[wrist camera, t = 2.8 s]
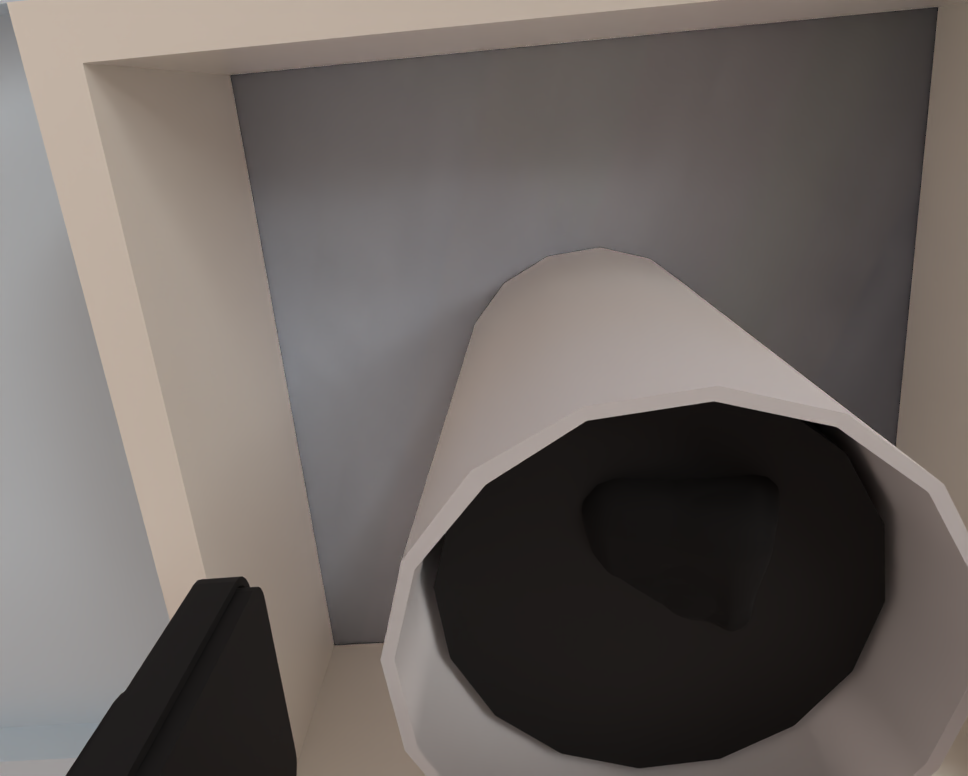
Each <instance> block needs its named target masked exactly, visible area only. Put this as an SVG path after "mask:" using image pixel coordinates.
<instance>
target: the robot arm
mask: <svg viewBox="0 0 968 776" xmlns="http://www.w3.org/2000/svg"><path fill="white" fill-rule="evenodd" d="M296 774H297V756H296V750H295V745H294V740H293V735H292V730H291V725H290V720H289V715H288V710H287V705H286V700H285V695H284V690H283V685H282V681H281V676H280V671H279V666H278V661H277V656H276V651H275V646H274V641H273V636H272V631H271V626H270V621H269V616H268V611H267V606H266V601H265V597H264V593H263V591H262V589H261V588H260V587H250V585H249V583H248V581H247V579H246V578H244V577H243V576H240V577H226V578H212V579H201V580H197V581H196V583H195V584H194V585H193V586H192V588H191V589H190V591H189V593H188V594H187V596H186V597H185V599H184V600H183V602H182V603H181V605H180V606H179V608H178V610H177V611H176V613H175V614H174V616H173V617H172V619H171V620H170V622H169V624H168V625H167V627H166V628H165V630H164V631H163V633H162V634H161V636H160V637H159V639H158V641H157V642H156V644H155V645H154V647H153V648H152V650H151V651H150V653H149V655H148V656H147V658H146V659H145V661H144V662H143V664H142V665H141V667H140V668H139V670H138V672H137V673H136V675H135V676H134V678H133V679H132V681H131V682H130V684H129V686H128V687H127V689H126V690H125V692H123V693H121V694H120V695H119V697H118V698H117V699H116V700H115V701H114V702H113V704H112V705H111V707H110V708H109V710H108V711H107V713H106V714H105V716H104V717H103V719H102V721H101V722H100V724H99V725H98V727H97V728H96V730H95V731H94V733H93V734H92V736H91V737H90V739H89V740H88V742H87V743H86V745H85V747H84V748H83V750H82V751H81V753H80V754H79V756H78V757H77V759H76V760H75V762H74V763H73V765H72V766H71V768H70V770H69V771H68V773H67V774H66V776H296Z"/></svg>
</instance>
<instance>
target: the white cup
mask: <svg viewBox="0 0 968 776" xmlns="http://www.w3.org/2000/svg"><path fill="white" fill-rule="evenodd" d="M380 661H381V664H382V668H383V672H384V675H385V679H386V683H387V686H388V690H389V694H390V698H391V701H392V705H393V709H394V712H395V716H396V720H397V723H398V727H399V731H400V735H401V738H402V742H403V746H404V749H405V751H406V753H407V754H408V755H409V756H410V757H411V758H412V760H413V761H414V762H415V763H416V764H417V766H418V767H419V768H420V769H421V770H422V771H423V773H424V774H425V775H426V776H931V775H932V774H934V773H935V772H936V771H937V770H938V769H939V768H940V766H941V764H942V762H943V761H944V759H945V757H946V755H947V753H948V751H949V749H950V748H951V746H952V744H953V742H954V740H955V738H956V736H957V735H958V733H959V731H960V729H961V727H962V725H963V724H964V722H965V720H966V718H967V716H968V531H967V529H966V527H965V525H964V523H963V521H962V519H961V517H960V515H959V513H958V511H957V509H956V507H955V505H954V503H953V501H952V499H951V497H950V495H949V493H948V491H947V489H946V487H945V485H944V484H943V483H942V482H941V481H939V480H938V479H937V478H935V477H934V476H933V475H932V474H930V473H929V472H928V471H926V470H925V469H924V468H922V467H921V466H920V465H919V464H917V463H916V462H915V461H913V460H912V459H911V458H909V457H908V456H907V455H906V454H904V453H903V452H902V451H900V450H899V449H898V448H896V447H895V446H894V445H893V444H891V443H890V442H889V441H887V440H886V439H885V438H884V437H882V436H881V435H880V434H878V433H877V432H876V431H874V430H873V429H872V428H871V427H869V426H868V425H867V424H865V423H864V422H863V421H861V420H860V419H859V418H858V417H856V416H855V415H854V414H852V413H851V412H850V411H849V410H847V409H846V408H845V407H843V406H842V405H841V404H839V403H838V402H837V401H836V400H834V399H833V398H832V397H830V396H829V395H828V394H826V393H825V392H824V391H823V390H821V389H820V388H819V387H817V386H816V385H815V384H813V383H812V382H811V381H810V380H808V379H807V378H806V377H804V376H803V375H802V374H801V373H799V372H798V371H797V370H795V369H794V368H793V367H791V366H790V365H789V364H788V363H786V362H785V361H784V360H782V359H781V358H780V357H778V356H777V355H776V354H775V353H773V352H772V351H771V350H769V349H768V348H767V347H765V346H764V345H763V344H762V343H760V342H759V341H758V340H756V339H755V338H754V337H753V336H751V335H750V334H749V333H747V332H746V331H745V330H743V329H742V328H741V327H740V326H738V325H737V324H736V323H734V322H733V321H732V320H730V319H729V318H728V317H727V316H725V315H724V314H723V313H721V312H720V311H719V310H718V309H716V308H715V307H714V306H712V305H711V304H710V303H708V302H707V301H706V300H705V299H703V298H702V297H701V296H699V295H698V294H697V293H695V292H694V291H693V290H692V289H691V288H690V287H688V286H687V285H685V284H684V283H683V282H681V281H680V280H679V279H677V278H676V277H674V276H673V275H672V274H670V273H669V272H668V271H666V270H665V269H663V268H662V267H661V266H659V265H658V264H657V263H655V262H654V261H653V260H651V259H649V258H645V257H640V256H636V255H632V254H627V253H623V252H618V251H614V250H609V249H605V248H600V247H598V248H592V249H587V250H581V251H575V252H569V253H564V254H558V255H552V256H547V257H546V258H544V259H542V260H541V261H539V262H538V263H536V264H534V265H533V266H531V267H530V268H528V269H526V270H525V271H523V272H522V273H520V274H518V275H517V276H515V277H513V278H512V279H510V280H509V281H507V282H505V283H504V284H503V285H502V287H501V288H500V289H499V291H498V292H497V294H496V295H495V296H494V298H493V299H492V301H491V302H490V303H489V305H488V306H487V307H486V309H485V310H484V312H483V313H482V314H481V316H480V317H479V319H478V320H477V321H476V323H475V324H474V329H473V332H472V335H471V338H470V341H469V345H468V348H467V351H466V354H465V358H464V361H463V364H462V367H461V370H460V374H459V377H458V380H457V383H456V387H455V390H454V393H453V396H452V399H451V403H450V406H449V409H448V412H447V415H446V419H445V422H444V425H443V428H442V432H441V435H440V438H439V441H438V444H437V448H436V451H435V454H434V457H433V461H432V464H431V467H430V470H429V473H428V477H427V480H426V483H425V486H424V490H423V493H422V496H421V499H420V502H419V506H418V509H417V512H416V515H415V518H414V522H413V525H412V528H411V531H410V535H409V538H408V541H407V544H406V547H405V551H404V554H403V557H402V560H401V565H400V569H399V574H398V579H397V584H396V588H395V593H394V598H393V602H392V607H391V612H390V617H389V621H388V626H387V631H386V636H385V640H384V645H383V650H382V654H381V659H380Z"/></svg>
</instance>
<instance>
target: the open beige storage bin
mask: <svg viewBox="0 0 968 776" xmlns="http://www.w3.org/2000/svg"><path fill="white" fill-rule="evenodd" d="M7 6H8V10H9V13H10V17H11V21H12V25H13V28H14V32H15V36H16V40H17V44H18V47H19V51H20V55H21V59H22V63H23V66H24V70H25V74H26V78H27V81H28V85H29V89H30V93H31V97H32V100H33V104H34V108H35V112H36V116H37V119H38V123H39V127H40V131H41V134H42V138H43V142H44V146H45V150H46V153H47V157H48V161H49V165H50V169H51V172H52V176H53V180H54V184H55V187H56V191H57V195H58V199H59V203H60V206H61V210H62V214H63V218H64V222H65V225H66V229H67V233H68V237H69V240H70V244H71V248H72V252H73V256H74V259H75V263H76V267H77V271H78V275H79V278H80V282H81V286H82V290H83V293H84V297H85V301H86V305H87V309H88V312H89V316H90V320H91V324H92V328H93V331H94V335H95V339H96V343H97V346H98V350H99V354H100V358H101V362H102V365H103V369H104V373H105V377H106V381H107V384H108V388H109V392H110V396H111V399H112V403H113V407H114V411H115V415H116V418H117V422H118V426H119V430H120V434H121V437H122V441H123V445H124V449H125V452H126V456H127V460H128V464H129V468H130V471H131V475H132V479H133V483H134V487H135V490H136V494H137V498H138V502H139V505H140V509H141V513H142V517H143V521H144V524H145V528H146V532H147V536H148V540H149V543H150V547H151V551H152V555H153V558H154V562H155V566H156V570H157V574H158V577H159V581H160V585H161V589H162V593H163V596H164V600H165V604H166V608H167V611H168V615H169V619H170V620H171V619H172V617H173V616H174V614H175V613H176V611H177V610H178V608H179V606H180V605H181V603H182V602H183V600H184V599H185V597H186V596H187V594H188V593H189V591H190V589H191V588H192V586H193V585H194V584H195V583H196V581H197V580H201V579H212V578H226V577H240V576H243V577H244V578H246V579H247V581H248V583H249V585H250V587H260V588H261V589H262V591H263V593H264V597H265V601H266V606H267V611H268V616H269V621H270V626H271V631H272V636H273V641H274V646H275V651H276V656H277V661H278V666H279V671H280V676H281V681H282V685H283V690H284V695H285V700H286V705H287V710H288V715H289V720H290V725H291V730H292V735H293V740H294V745H295V750H296V756H297V774H296V776H426V775H425V774H424V773H423V771H422V770H421V769H420V768H419V767H418V766H417V764H416V763H415V762H414V761H413V760H412V758H411V757H410V756H409V755H408V754H407V753H406V751H405V749H404V746H403V742H402V738H401V735H400V731H399V727H398V723H397V720H396V716H395V712H394V709H393V705H392V701H391V698H390V694H389V690H388V686H387V683H386V679H385V675H384V672H383V668H382V664H381V661H380V659H381V654H382V650H383V645H384V643H369V644H352V645H334V640H333V635H332V629H331V624H330V619H329V613H328V608H327V602H326V597H325V591H324V586H323V580H322V575H321V569H320V564H319V558H318V553H317V547H316V542H315V536H314V531H313V525H312V520H311V515H310V509H309V504H308V498H307V493H306V487H305V482H304V476H303V471H302V465H301V460H300V454H299V449H298V443H297V438H296V432H295V427H294V421H293V416H292V411H291V405H290V400H289V394H288V389H287V383H286V378H285V372H284V367H283V361H282V356H281V350H280V345H279V339H278V334H277V328H276V323H275V317H274V312H273V307H272V301H271V296H270V290H269V285H268V279H267V274H266V268H265V263H264V257H263V252H262V246H261V241H260V235H259V230H258V224H257V219H256V213H255V208H254V203H253V197H252V192H251V186H250V181H249V175H248V170H247V164H246V159H245V153H244V148H243V142H242V137H241V131H240V126H239V120H238V115H237V109H236V104H235V99H234V93H233V88H232V82H231V77H230V75H237V74H247V73H258V72H268V71H278V70H289V69H299V68H309V67H320V66H330V65H341V64H351V63H361V62H372V61H382V60H392V59H403V58H413V57H424V56H434V55H444V54H455V53H465V52H475V51H486V50H496V49H506V48H517V47H527V46H538V45H548V44H558V43H569V42H579V41H589V40H600V39H610V38H620V37H631V36H641V35H652V34H662V33H672V32H683V31H693V30H703V29H714V28H724V27H734V26H745V25H755V24H766V23H776V22H786V21H797V20H807V19H817V18H828V17H838V16H848V15H859V14H869V13H880V12H890V11H900V10H911V9H921V8H931V7H938V16H937V27H936V37H935V47H934V58H933V68H932V78H931V88H930V99H929V109H928V119H927V130H926V140H925V150H924V161H923V171H922V181H921V192H920V202H919V212H918V222H917V233H916V243H915V253H914V264H913V274H912V284H911V295H910V305H909V315H908V326H907V336H906V346H905V357H904V367H903V377H902V387H901V398H900V408H899V418H898V429H897V439H896V448H898V449H899V450H900V451H902V452H903V453H904V454H906V455H907V456H908V457H909V458H911V459H912V460H913V461H915V462H916V463H917V464H919V465H920V466H921V467H922V468H924V469H925V470H926V471H928V472H929V473H930V474H932V475H933V476H934V477H935V478H937V479H938V480H939V481H941V482H942V483H943V484H944V485H945V487H946V489H947V491H948V493H949V495H950V497H951V499H952V501H953V503H954V505H955V507H956V509H957V511H958V513H959V515H960V517H961V519H962V521H963V523H964V525H965V527H966V529H967V531H968V0H24V1H15V2H7ZM931 776H968V716H967V718H966V720H965V722H964V724H963V725H962V727H961V729H960V731H959V733H958V735H957V736H956V738H955V740H954V742H953V744H952V746H951V748H950V749H949V751H948V753H947V755H946V757H945V759H944V761H943V762H942V764H941V766H940V768H939V769H938V770H937V771H936V772H935V773H934V774H932V775H931Z"/></svg>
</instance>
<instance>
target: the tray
mask: <svg viewBox="0 0 968 776" xmlns="http://www.w3.org/2000/svg"><path fill="white" fill-rule="evenodd" d="M15 1H24V0H0V776H66V774H67V773H68V771H69V770H70V768H71V766H72V765H73V763H74V762H75V760H76V759H77V757H78V756H79V754H80V753H81V751H82V750H83V748H84V747H85V745H86V743H87V742H88V740H89V739H90V737H91V736H92V734H93V733H94V731H95V730H96V728H97V727H98V725H99V724H100V722H101V721H102V719H103V717H104V716H105V714H106V713H107V711H108V710H109V708H110V707H111V705H112V704H113V702H114V701H115V700H116V699H117V698H118V697H119V695H120V694H121V693H123V692H125V690H126V689H127V687H128V686H129V684H130V682H131V681H132V679H133V678H134V676H135V675H136V673H137V672H138V670H139V668H140V667H141V665H142V664H143V662H144V661H145V659H146V658H147V656H148V655H149V653H150V651H151V650H152V648H153V647H154V645H155V644H156V642H157V641H158V639H159V637H160V636H161V634H162V633H163V631H164V630H165V628H166V627H167V625H168V624H169V622H170V619H169V615H168V611H167V608H166V604H165V600H164V596H163V593H162V589H161V585H160V581H159V577H158V574H157V570H156V566H155V562H154V558H153V555H152V551H151V547H150V543H149V540H148V536H147V532H146V528H145V524H144V521H143V517H142V513H141V509H140V505H139V502H138V498H137V494H136V490H135V487H134V483H133V479H132V475H131V471H130V468H129V464H128V460H127V456H126V452H125V449H124V445H123V441H122V437H121V434H120V430H119V426H118V422H117V418H116V415H115V411H114V407H113V403H112V399H111V396H110V392H109V388H108V384H107V381H106V377H105V373H104V369H103V365H102V362H101V358H100V354H99V350H98V346H97V343H96V339H95V335H94V331H93V328H92V324H91V320H90V316H89V312H88V309H87V305H86V301H85V297H84V293H83V290H82V286H81V282H80V278H79V275H78V271H77V267H76V263H75V259H74V256H73V252H72V248H71V244H70V240H69V237H68V233H67V229H66V225H65V222H64V218H63V214H62V210H61V206H60V203H59V199H58V195H57V191H56V187H55V184H54V180H53V176H52V172H51V169H50V165H49V161H48V157H47V153H46V150H45V146H44V142H43V138H42V134H41V131H40V127H39V123H38V119H37V116H36V112H35V108H34V104H33V100H32V97H31V93H30V89H29V85H28V81H27V78H26V74H25V70H24V66H23V63H22V59H21V55H20V51H19V47H18V44H17V40H16V36H15V32H14V28H13V25H12V21H11V17H10V13H9V10H8V6H7V2H15Z"/></svg>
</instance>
